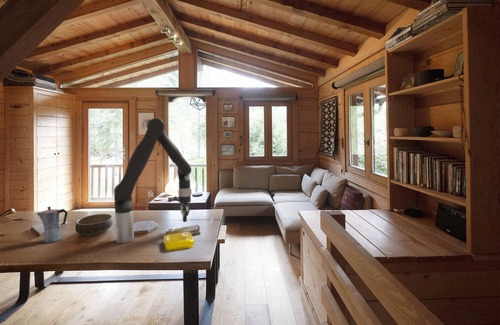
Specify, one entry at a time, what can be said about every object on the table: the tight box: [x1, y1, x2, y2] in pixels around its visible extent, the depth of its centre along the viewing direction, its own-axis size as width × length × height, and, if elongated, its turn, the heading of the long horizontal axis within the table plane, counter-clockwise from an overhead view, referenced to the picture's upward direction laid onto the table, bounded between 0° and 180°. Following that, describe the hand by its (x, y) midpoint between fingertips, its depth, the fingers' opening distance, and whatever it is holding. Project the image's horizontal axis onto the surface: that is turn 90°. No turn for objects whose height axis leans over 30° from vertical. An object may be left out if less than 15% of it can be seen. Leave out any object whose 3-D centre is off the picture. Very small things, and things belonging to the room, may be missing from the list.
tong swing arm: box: [174, 224, 199, 230], centre depth 173 cm, size 15×2×2 cm, turn 120°
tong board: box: [165, 230, 201, 237], centre depth 173 cm, size 18×12×2 cm, turn 120°
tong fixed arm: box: [168, 225, 200, 234], centre depth 172 cm, size 19×4×3 cm, turn 120°
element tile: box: [163, 232, 195, 252], centre depth 156 cm, size 15×15×5 cm
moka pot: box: [36, 206, 68, 244], centre depth 163 cm, size 10×15×20 cm, turn 111°
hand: (184, 221), depth 179 cm, fingers closed
